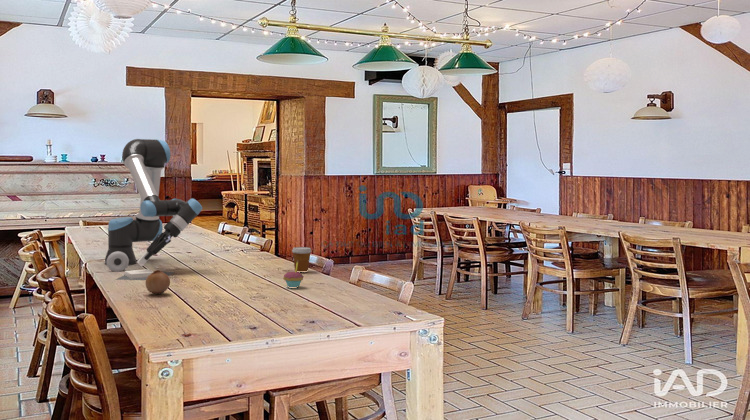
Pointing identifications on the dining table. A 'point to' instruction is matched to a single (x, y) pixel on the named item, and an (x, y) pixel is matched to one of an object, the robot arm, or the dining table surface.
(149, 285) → the onion
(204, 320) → the dining table surface
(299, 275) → the cupcake
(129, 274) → the board
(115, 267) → the donut
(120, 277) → the mat
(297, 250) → the disposable coffee cup
